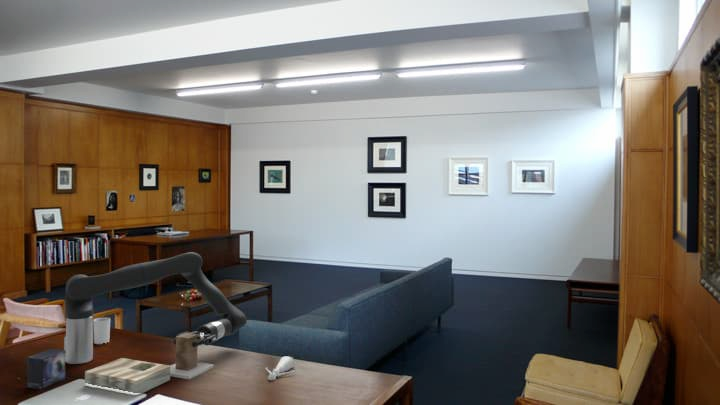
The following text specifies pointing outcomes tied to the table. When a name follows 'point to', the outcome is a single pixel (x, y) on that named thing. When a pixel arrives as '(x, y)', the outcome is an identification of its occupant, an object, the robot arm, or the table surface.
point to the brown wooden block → (186, 352)
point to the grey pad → (191, 373)
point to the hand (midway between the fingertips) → (183, 343)
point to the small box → (46, 368)
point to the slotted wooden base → (129, 375)
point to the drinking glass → (101, 330)
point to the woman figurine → (282, 367)
